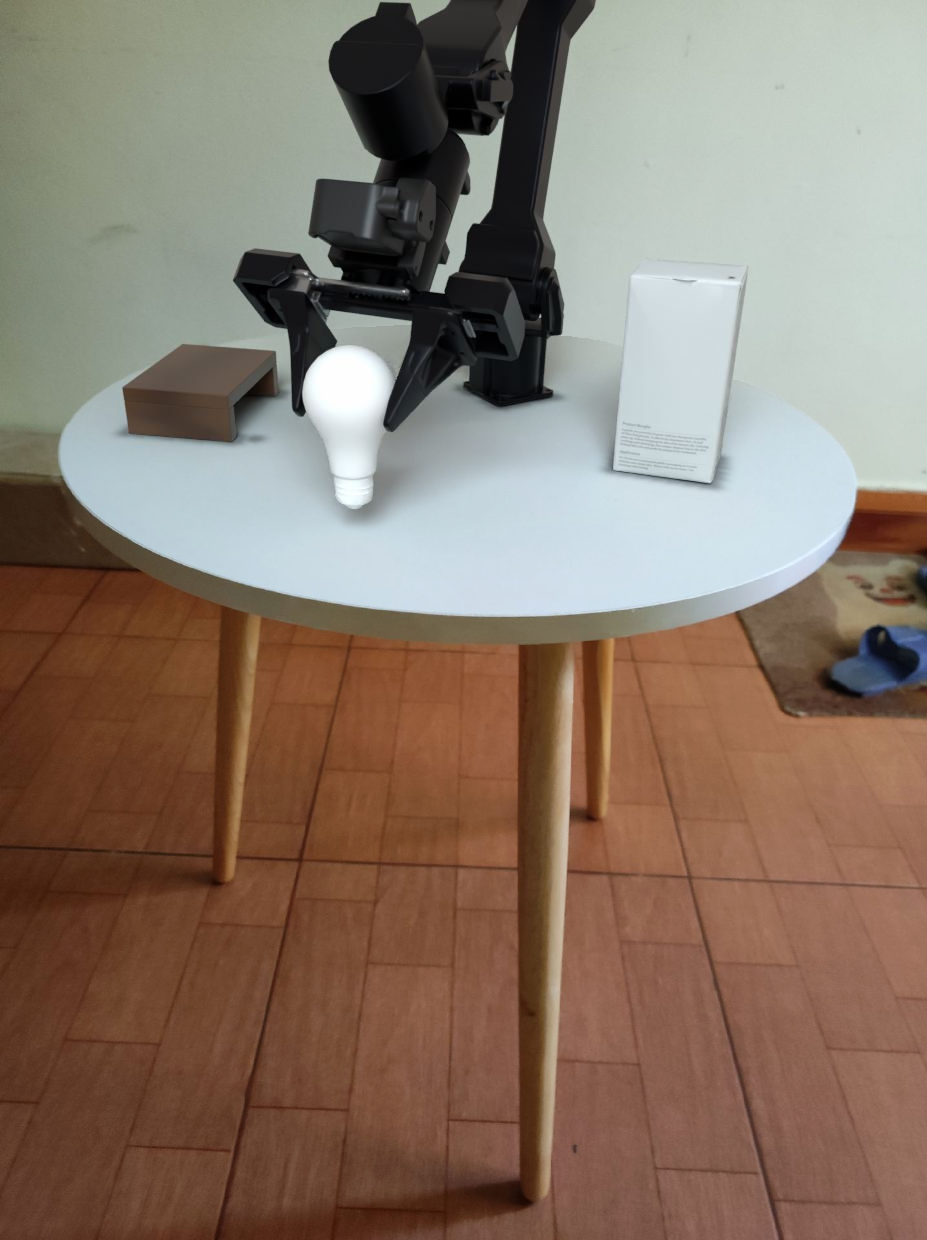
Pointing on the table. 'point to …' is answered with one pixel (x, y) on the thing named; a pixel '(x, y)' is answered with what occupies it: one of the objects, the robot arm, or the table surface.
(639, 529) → the table surface
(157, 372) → the shelf
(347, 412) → the lightbulb
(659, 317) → the cosmetic box
